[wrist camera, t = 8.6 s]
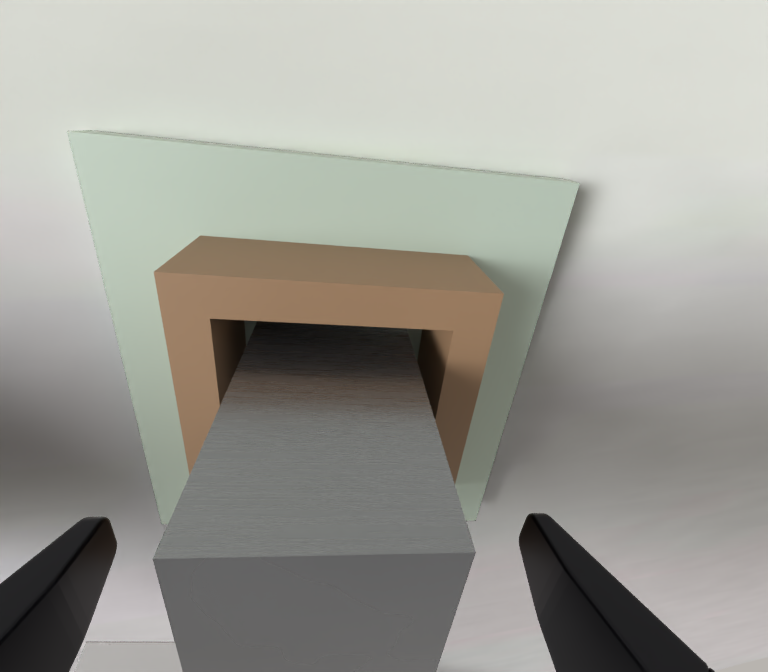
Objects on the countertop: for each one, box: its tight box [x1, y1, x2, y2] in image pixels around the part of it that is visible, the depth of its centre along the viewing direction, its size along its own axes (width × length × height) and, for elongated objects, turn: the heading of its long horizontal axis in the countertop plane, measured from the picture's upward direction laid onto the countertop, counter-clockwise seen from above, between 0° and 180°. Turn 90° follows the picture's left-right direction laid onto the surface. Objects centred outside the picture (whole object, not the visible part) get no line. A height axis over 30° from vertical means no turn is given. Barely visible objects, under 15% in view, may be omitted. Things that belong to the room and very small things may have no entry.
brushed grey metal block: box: [153, 321, 476, 672], centre depth 10 cm, size 4×6×8 cm, turn 174°
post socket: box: [67, 130, 580, 524], centre depth 13 cm, size 13×14×4 cm
